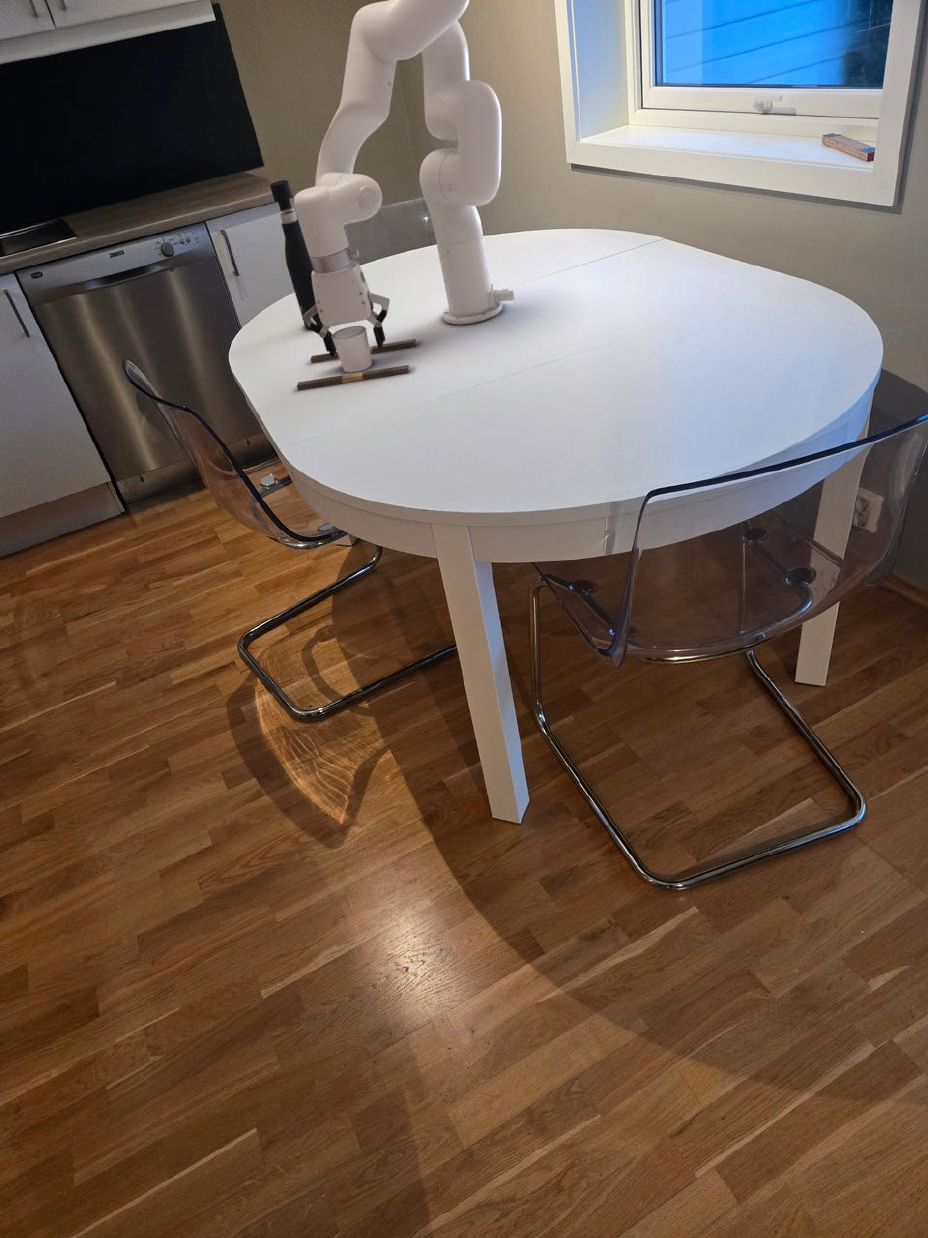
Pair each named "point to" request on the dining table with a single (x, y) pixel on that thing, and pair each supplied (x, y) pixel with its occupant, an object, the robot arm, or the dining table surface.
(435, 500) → the dining table surface
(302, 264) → the wine bottle
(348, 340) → the white cup
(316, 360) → the guide rails
